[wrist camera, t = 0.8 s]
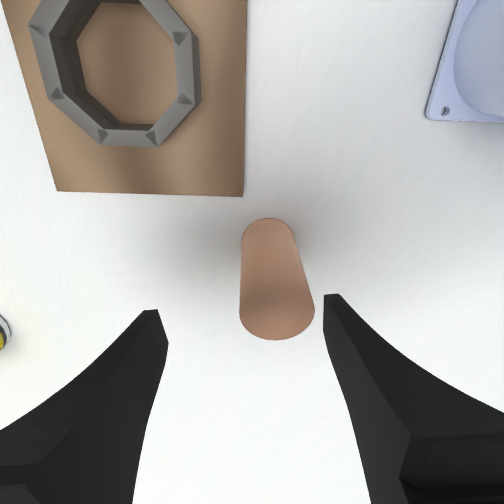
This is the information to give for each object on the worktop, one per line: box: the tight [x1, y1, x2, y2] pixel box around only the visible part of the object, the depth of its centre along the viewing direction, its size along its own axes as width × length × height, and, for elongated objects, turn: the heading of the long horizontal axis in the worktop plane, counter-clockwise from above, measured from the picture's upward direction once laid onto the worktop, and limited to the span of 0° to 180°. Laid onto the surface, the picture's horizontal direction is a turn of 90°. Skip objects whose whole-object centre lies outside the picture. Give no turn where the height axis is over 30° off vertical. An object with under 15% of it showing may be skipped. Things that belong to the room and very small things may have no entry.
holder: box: [1, 0, 247, 197], centre depth 16 cm, size 12×14×4 cm
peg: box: [239, 218, 315, 340], centre depth 19 cm, size 4×4×8 cm
